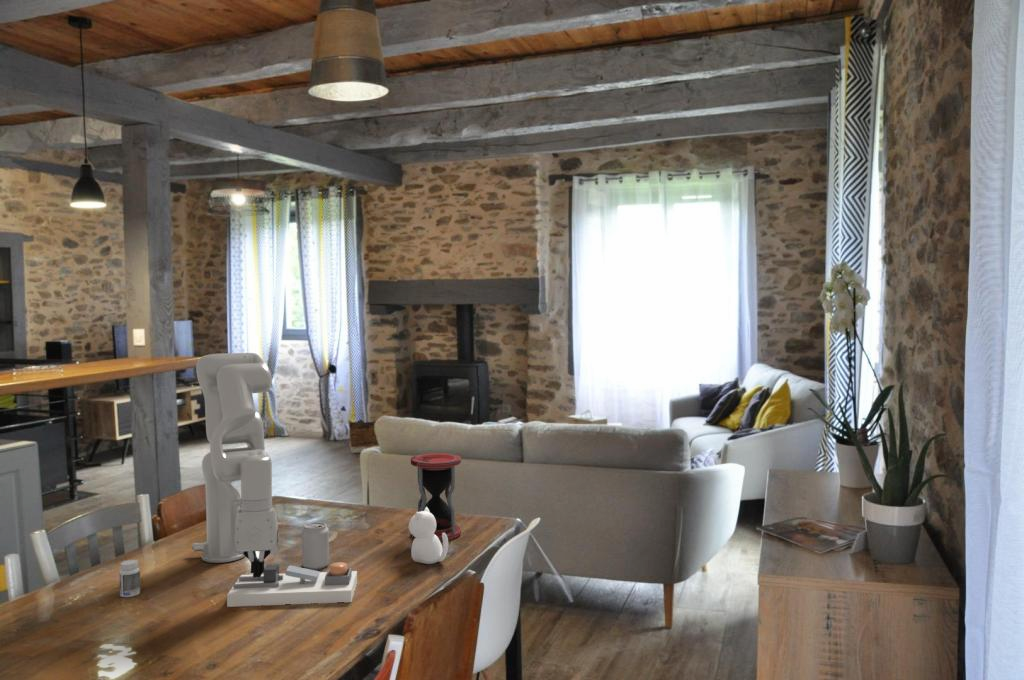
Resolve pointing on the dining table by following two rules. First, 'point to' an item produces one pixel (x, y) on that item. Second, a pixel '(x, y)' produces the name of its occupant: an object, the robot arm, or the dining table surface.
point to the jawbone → (333, 535)
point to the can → (315, 545)
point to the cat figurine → (426, 539)
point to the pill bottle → (129, 578)
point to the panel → (292, 590)
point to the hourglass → (438, 489)
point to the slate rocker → (302, 573)
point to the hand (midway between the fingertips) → (257, 575)
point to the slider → (271, 573)
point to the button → (338, 569)
